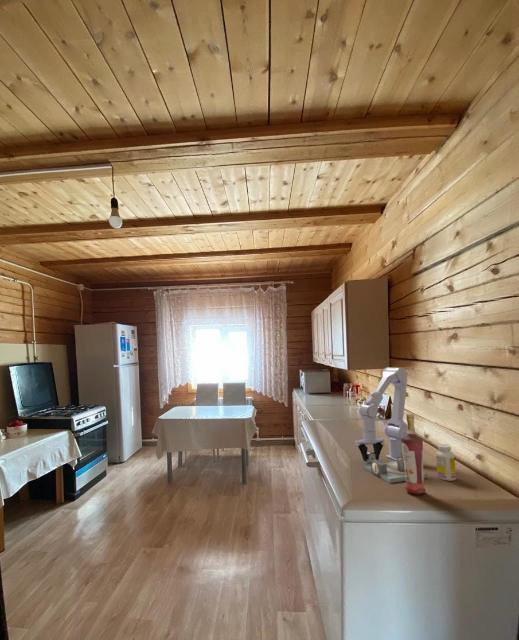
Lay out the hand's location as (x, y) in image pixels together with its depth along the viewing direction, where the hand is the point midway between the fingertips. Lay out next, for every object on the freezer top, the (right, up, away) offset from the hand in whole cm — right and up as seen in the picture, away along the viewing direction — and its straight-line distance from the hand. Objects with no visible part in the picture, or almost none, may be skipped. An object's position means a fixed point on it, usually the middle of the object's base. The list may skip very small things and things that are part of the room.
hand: (370, 460), depth 157 cm
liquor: (+5, +2, -34) cm, 34 cm away
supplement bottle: (+24, +1, -20) cm, 32 cm away
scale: (+6, 0, -13) cm, 14 cm away
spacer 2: (+8, +3, -16) cm, 18 cm away
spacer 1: (0, -2, 0) cm, 2 cm away
